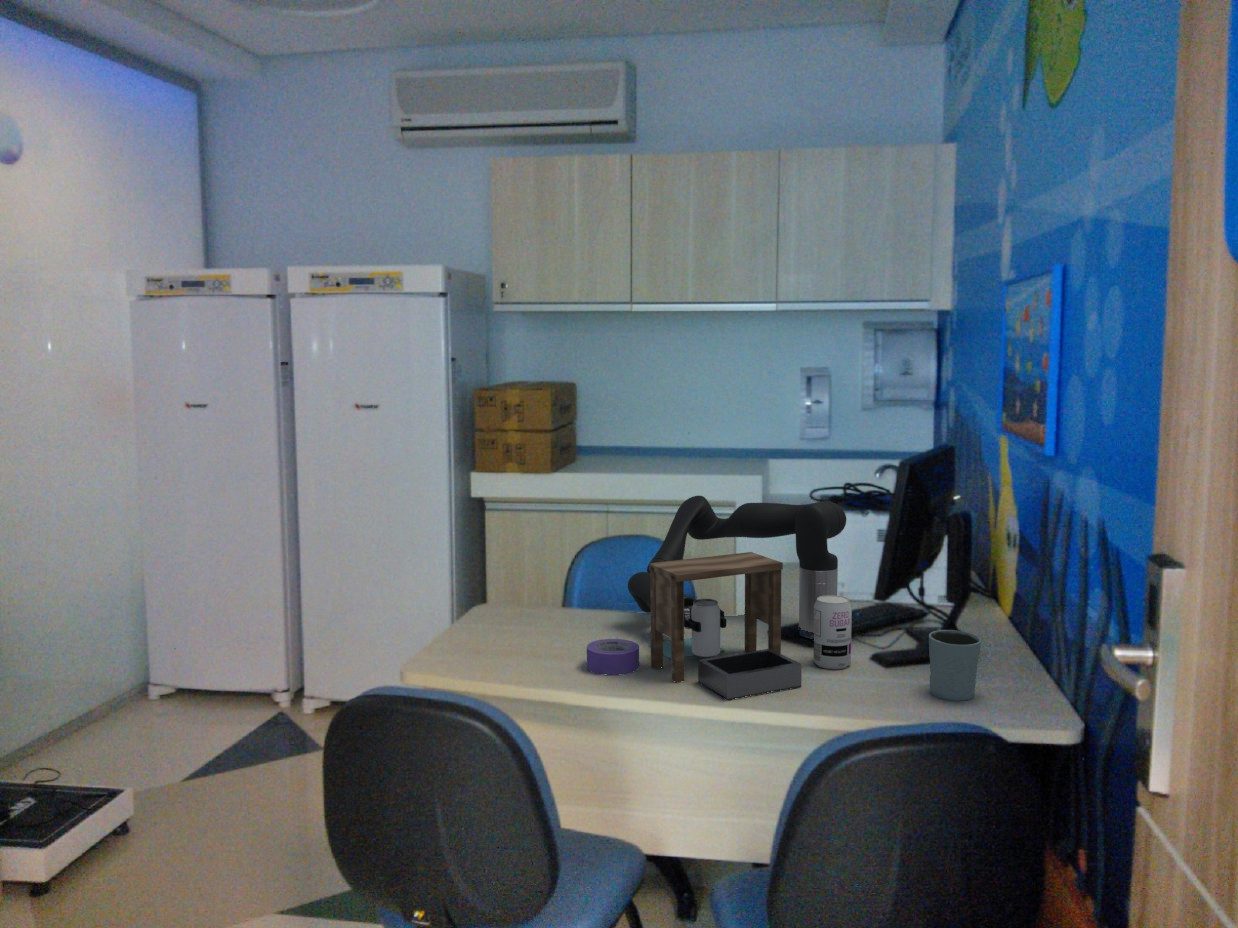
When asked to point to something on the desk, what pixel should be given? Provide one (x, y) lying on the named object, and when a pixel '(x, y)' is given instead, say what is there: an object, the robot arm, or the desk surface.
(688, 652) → the pad
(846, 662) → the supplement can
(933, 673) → the grey green cup
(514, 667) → the desk surface
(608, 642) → the tape roll
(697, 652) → the can
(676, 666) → the small wooden table
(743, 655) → the box
